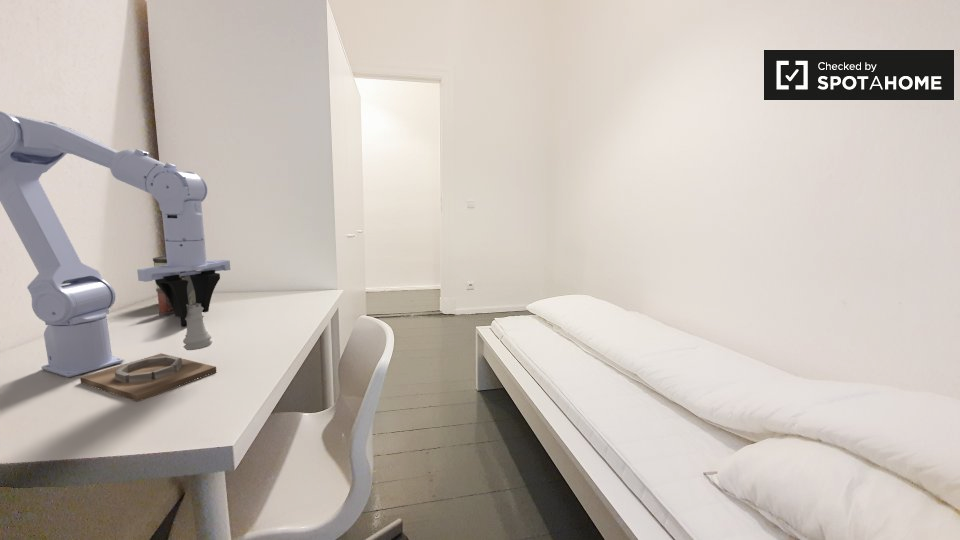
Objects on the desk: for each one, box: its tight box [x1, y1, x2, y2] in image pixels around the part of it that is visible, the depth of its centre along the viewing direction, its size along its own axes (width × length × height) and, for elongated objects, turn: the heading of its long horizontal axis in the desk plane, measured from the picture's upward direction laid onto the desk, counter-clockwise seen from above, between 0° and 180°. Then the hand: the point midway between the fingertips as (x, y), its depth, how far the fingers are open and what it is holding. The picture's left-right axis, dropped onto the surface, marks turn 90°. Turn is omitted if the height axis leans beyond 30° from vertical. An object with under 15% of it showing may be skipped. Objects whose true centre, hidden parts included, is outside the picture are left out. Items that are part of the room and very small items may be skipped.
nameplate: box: [179, 275, 196, 328], centre depth 105 cm, size 21×2×10 cm, turn 32°
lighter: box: [155, 287, 175, 317], centre depth 109 cm, size 8×3×10 cm, turn 179°
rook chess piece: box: [182, 303, 213, 351], centre depth 72 cm, size 4×4×8 cm
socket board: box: [79, 352, 217, 403], centre depth 68 cm, size 16×12×2 cm
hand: (192, 314), depth 72 cm, fingers closed on rook chess piece, 3 cm apart
